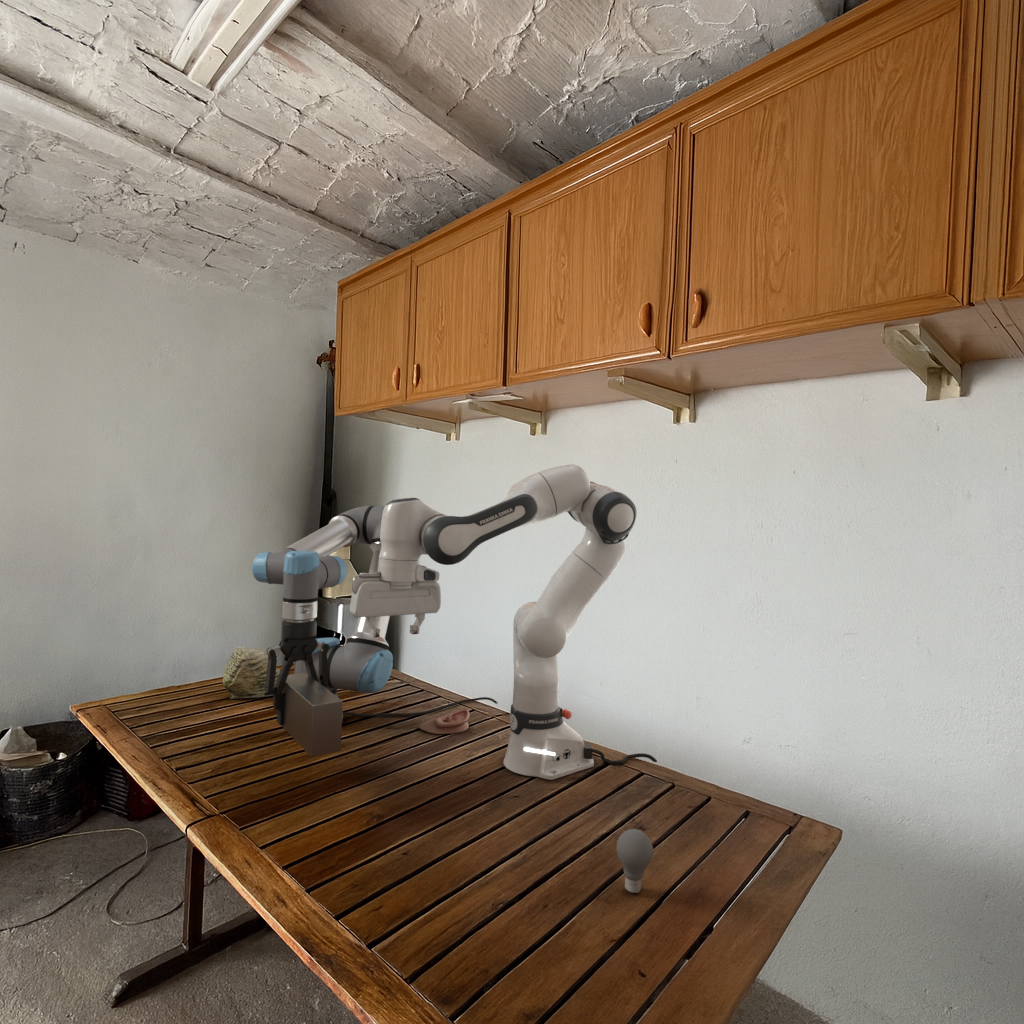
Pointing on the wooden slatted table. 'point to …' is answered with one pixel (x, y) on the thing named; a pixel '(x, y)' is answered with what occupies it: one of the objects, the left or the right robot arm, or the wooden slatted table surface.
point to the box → (312, 715)
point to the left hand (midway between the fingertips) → (295, 720)
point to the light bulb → (634, 857)
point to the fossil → (247, 673)
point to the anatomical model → (447, 723)
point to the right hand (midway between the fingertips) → (394, 635)
